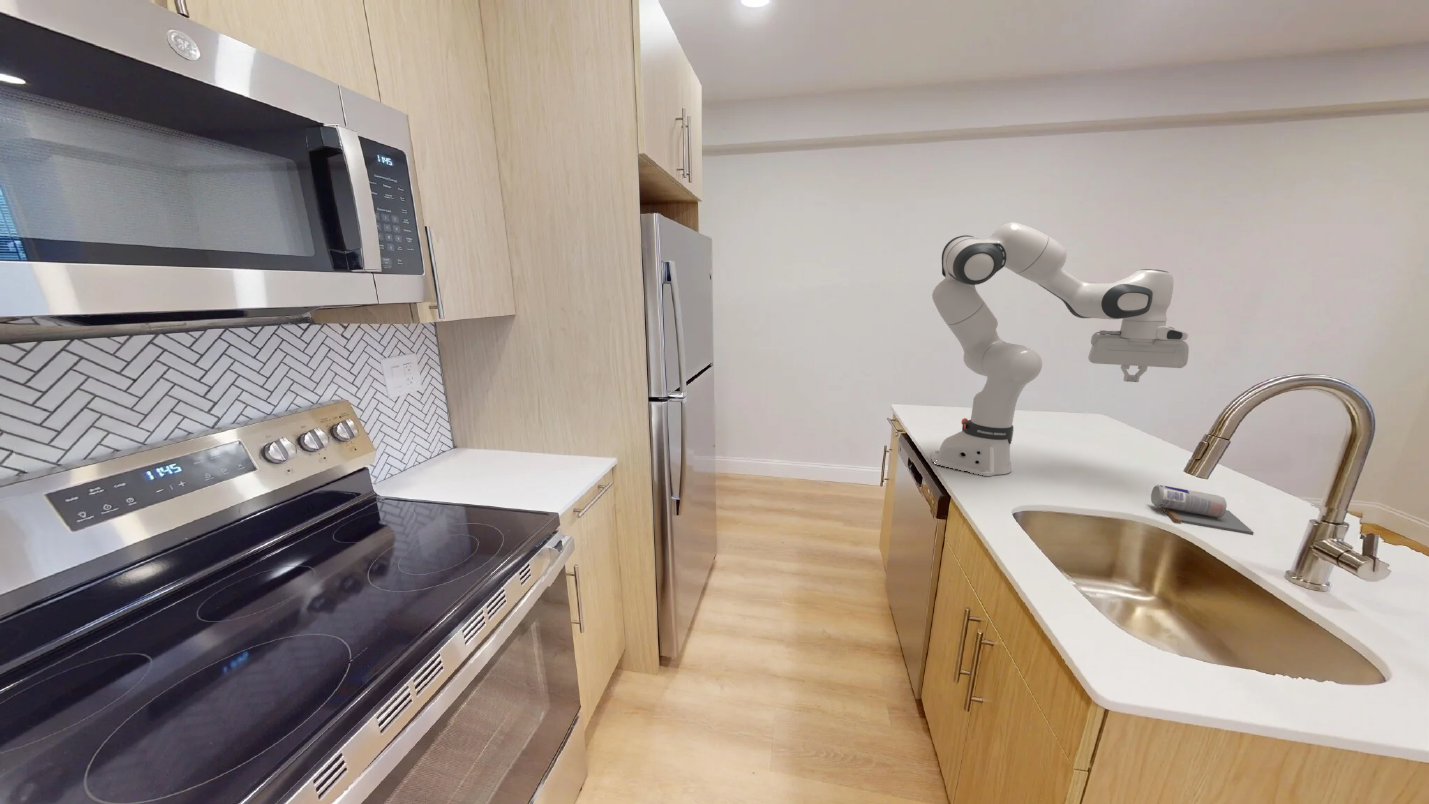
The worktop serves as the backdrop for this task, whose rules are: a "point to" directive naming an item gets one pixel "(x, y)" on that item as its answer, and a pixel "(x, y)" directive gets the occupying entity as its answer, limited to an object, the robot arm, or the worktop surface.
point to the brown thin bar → (1172, 515)
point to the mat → (1215, 521)
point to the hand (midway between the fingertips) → (1130, 381)
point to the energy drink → (1188, 501)
